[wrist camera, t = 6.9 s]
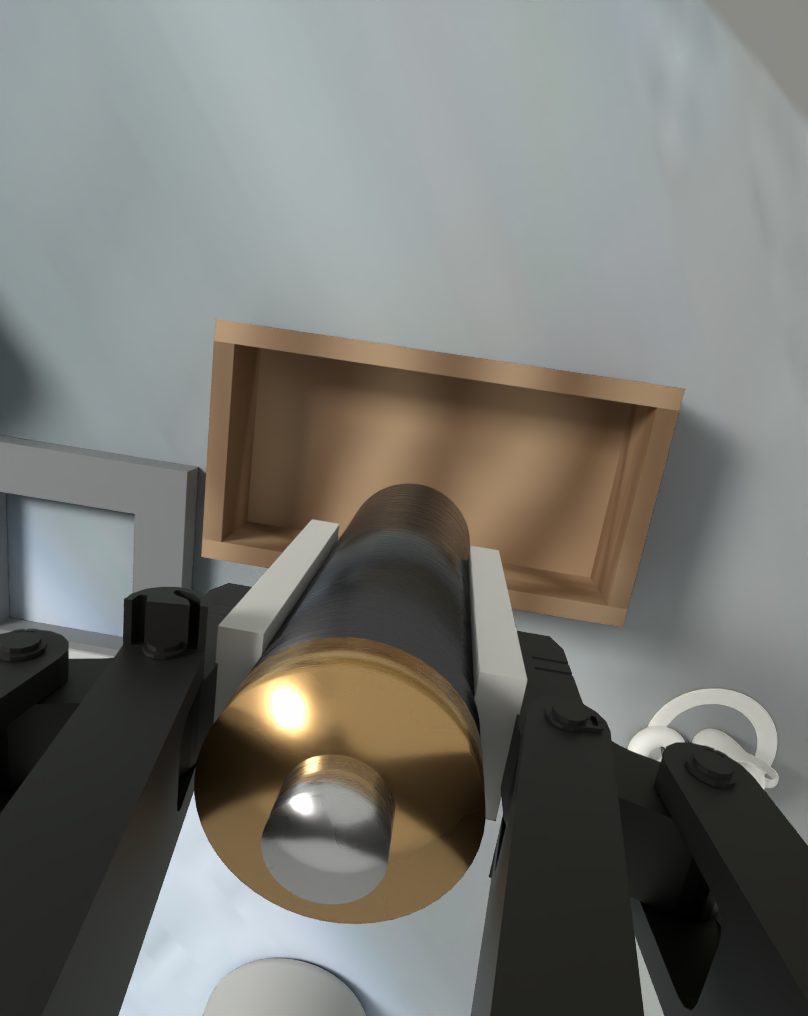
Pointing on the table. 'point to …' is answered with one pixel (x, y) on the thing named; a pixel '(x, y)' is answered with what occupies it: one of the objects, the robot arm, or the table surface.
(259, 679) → the battery cell
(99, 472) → the grey flat square frame
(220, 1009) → the cylinder vase
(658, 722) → the teacup and saucer
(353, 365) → the walnut trough
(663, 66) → the table surface
